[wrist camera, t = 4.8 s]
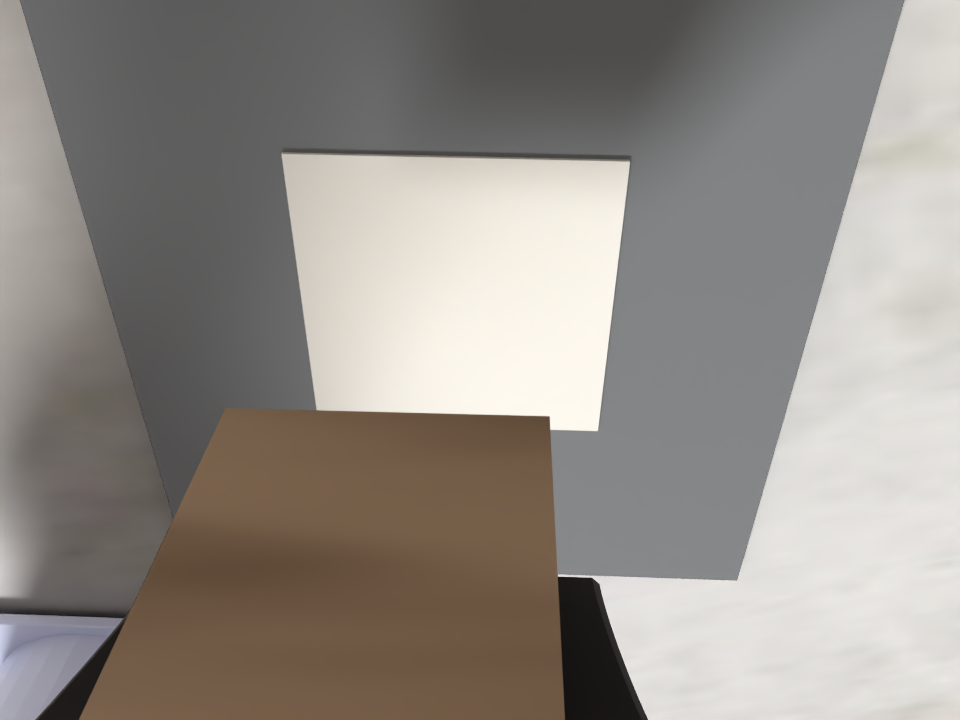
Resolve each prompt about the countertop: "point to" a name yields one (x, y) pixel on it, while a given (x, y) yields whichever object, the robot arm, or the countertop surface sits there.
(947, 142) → the countertop surface
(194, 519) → the walnut block
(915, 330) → the countertop surface
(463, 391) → the grey mat
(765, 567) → the countertop surface
